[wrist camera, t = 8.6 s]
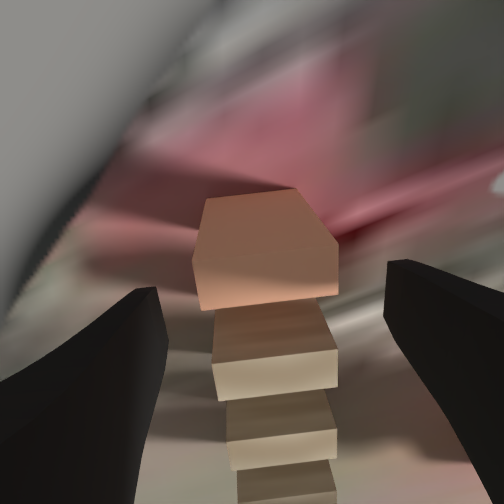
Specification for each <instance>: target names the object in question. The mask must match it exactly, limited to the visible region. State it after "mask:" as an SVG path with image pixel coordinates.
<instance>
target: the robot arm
mask: <svg viewBox="0 0 504 504" xmlns="http://www.w3.org/2000/svg"><path fill="white" fill-rule="evenodd" d="M383 317H384V319H385V321H386V323H387V325H388V328H389V330H390V332H391V334H392V336H393V338H394V340H395V341H396V343H397V345H398V346H399V348H400V349H401V351H402V352H403V354H404V355H405V357H406V358H407V360H408V361H409V363H410V364H411V366H412V367H413V368H414V370H415V371H416V373H417V374H418V376H419V377H420V379H421V380H422V381H423V383H424V384H425V386H426V387H427V389H428V390H429V391H430V393H431V394H432V396H433V397H434V399H435V400H436V402H437V403H438V404H439V406H440V408H441V409H442V411H443V412H444V414H445V416H446V417H447V419H448V420H449V422H450V424H451V426H452V428H453V429H454V431H455V433H456V435H457V437H458V438H459V440H460V442H461V444H462V446H463V447H464V449H465V451H466V453H467V455H468V457H469V458H470V460H471V462H472V464H473V466H474V468H475V470H476V472H477V474H478V476H479V478H480V480H481V482H482V483H483V485H484V487H485V489H486V491H487V493H488V495H489V497H490V499H491V501H492V503H493V504H504V293H503V292H500V291H497V290H494V289H491V288H488V287H485V286H482V285H480V284H477V283H474V282H471V281H469V280H466V279H463V278H460V277H458V276H455V275H453V274H450V273H447V272H445V271H442V270H439V269H437V268H434V267H431V266H428V265H425V264H423V263H420V262H416V261H413V260H409V259H404V260H395V261H388V263H387V276H386V288H385V300H384V312H383ZM168 342H169V339H168V335H167V331H166V327H165V322H164V318H163V314H162V310H161V305H160V301H159V297H158V293H157V289H156V286H155V287H146V288H137V289H135V290H133V291H132V292H130V293H129V294H127V295H126V296H125V297H124V298H122V299H121V300H120V301H118V302H117V303H116V304H115V305H113V306H112V307H111V308H110V309H108V310H107V311H106V312H105V313H103V314H102V315H101V316H100V317H98V318H97V319H96V320H95V321H93V322H92V323H91V324H89V325H88V326H87V327H85V328H84V329H83V330H81V331H80V332H78V333H77V334H76V335H74V336H73V337H72V338H70V339H69V340H68V341H66V342H65V343H63V344H62V345H61V346H59V347H58V348H56V349H55V350H53V351H52V352H50V353H49V354H47V355H46V356H44V357H42V358H41V359H39V360H38V361H36V362H34V363H33V364H31V365H29V366H28V367H26V368H25V369H23V370H21V371H19V372H18V373H16V374H14V375H12V376H10V377H9V378H7V379H5V380H3V381H1V382H0V504H134V499H135V493H136V487H137V481H138V475H139V469H140V464H141V458H142V453H143V449H144V444H145V440H146V436H147V433H148V429H149V426H150V422H151V418H152V415H153V411H154V408H155V404H156V400H157V397H158V393H159V390H160V386H161V382H162V379H163V375H164V371H165V365H166V359H167V351H168Z"/></svg>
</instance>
